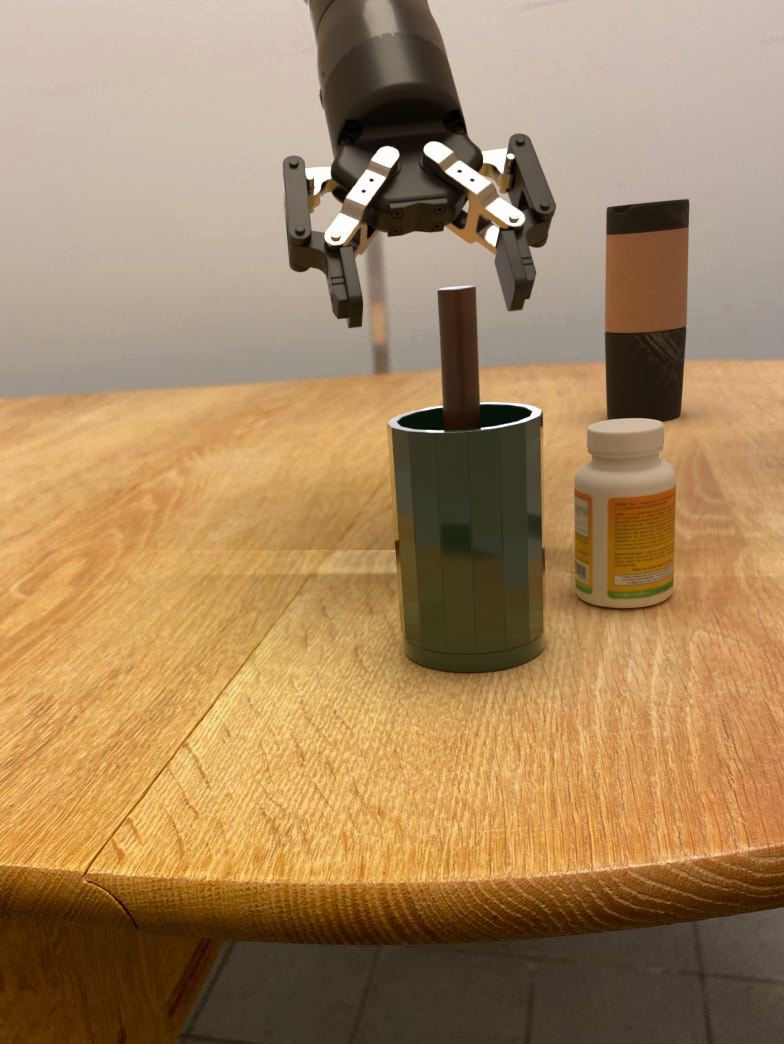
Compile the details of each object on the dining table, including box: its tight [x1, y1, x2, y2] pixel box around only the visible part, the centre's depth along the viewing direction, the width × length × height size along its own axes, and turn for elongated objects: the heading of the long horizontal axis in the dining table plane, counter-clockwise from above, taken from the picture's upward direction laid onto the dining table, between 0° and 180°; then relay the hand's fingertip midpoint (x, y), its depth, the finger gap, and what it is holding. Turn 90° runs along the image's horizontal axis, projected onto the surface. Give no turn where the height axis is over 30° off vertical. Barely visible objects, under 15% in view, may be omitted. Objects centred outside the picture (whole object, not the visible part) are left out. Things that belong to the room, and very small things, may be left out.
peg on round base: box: [436, 285, 481, 431], centre depth 53 cm, size 4×4×17 cm
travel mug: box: [604, 198, 690, 422], centre depth 104 cm, size 8×8×20 cm
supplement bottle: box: [573, 418, 677, 609], centre depth 59 cm, size 5×5×10 cm
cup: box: [386, 401, 547, 673], centre depth 54 cm, size 7×7×12 cm
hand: (438, 308), depth 55 cm, fingers open, 8 cm apart
